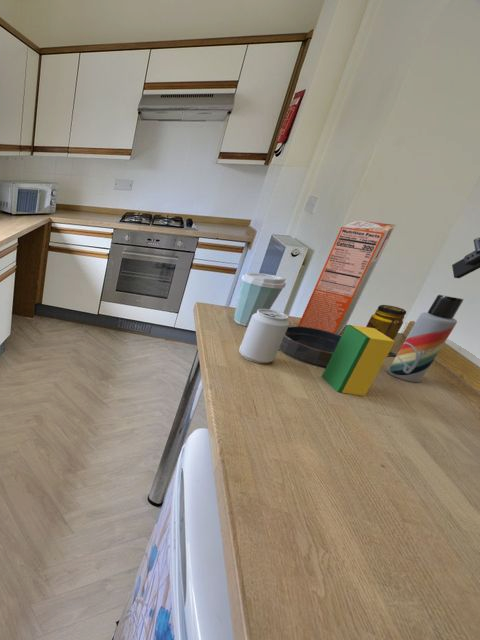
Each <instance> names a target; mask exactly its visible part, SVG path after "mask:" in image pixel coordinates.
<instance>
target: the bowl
mask: <svg viewBox="0 0 480 640" xmlns="http://www.w3.org/2000/svg"><path fill="white" fill-rule="evenodd" d="M341 336H342V334H339V335H338V334H335V333H331V332H328V331H324V330H320V329H315V328H310V327H302V326H298V325H291V326H290V325H289V326H288V329H287V331H286V333H285V336H284V338H283V340H282V343H281V345H280V347H279V350H281V351H282V352H284V353H286V354H287V355H288V356H290V357H292V358H294V359H297V360H299V361H303V362H305V363H308V364H312V365H315V366H318V367H319V366H320V367H323V368H326V367H327V365H328V363H329V361H330V359H331V357H332V355H333V353H334V351H335V349H336V347H337V345H338V343H339V340H340V338H341Z"/></svg>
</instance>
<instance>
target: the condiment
mask: <svg viewBox="0 0 480 640" xmlns="http://www.w3.org/2000/svg"><path fill="white" fill-rule="evenodd" d="M406 314H407V311H406V309H404V308H402V307H399V306H394V305H389V304H379V306H377V309H376V310H375V313H373V314H372V315H371V316H370V318H369V320H368V321H367V324H366V326H365V327H369V328H375V329H376V330H378V331H379V332H381V333H383V334H384V335H386V336H387V337H389V338H391V339H392V340H394V341H395V338H396V336H397V335H398V333H399V331H400V329H401V327H402V326H403V325H404V319H405V315H406ZM397 354H398V352H395V351H392V350H390V352H389V354H388V356H387V357H390V356H397Z"/></svg>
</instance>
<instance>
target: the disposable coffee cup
mask: <svg viewBox="0 0 480 640" xmlns="http://www.w3.org/2000/svg"><path fill="white" fill-rule="evenodd" d="M240 279H241V280H240V286H239V291H238V295H237V302H236V305H235V306H236V307H235V311H234V315H233V319H234V322H235V323H236V324H238V325H241V326H244V327H247V328H248V325H249V322H250V320H251V317H252V315H253V314H255V313H257V310H259V309H270V310H271V308H272V306H273V305H274V303H275V301H276V300H277V299H278V298H279V295H280V293H281V292H282V291H283V289H285V288H286V285H287V283H286V282H285V281H286V278H285V277H283V276H280V275H279V276H278V275H274V274H269V273H262V272H261V273H260V272H246V273H245V274H243V275H242V276H241V278H240Z"/></svg>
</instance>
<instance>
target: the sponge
mask: <svg viewBox="0 0 480 640" xmlns="http://www.w3.org/2000/svg"><path fill="white" fill-rule="evenodd" d="M342 332H343V333H342V334H341V338H340V340H339V343H338V345H337V347H336V349H335V351H334V353H333V355H332V357H331V359H330V361H329V363H328V365H327V367H325V369H324V371H323V373H322V375H321V377H322V378H323V380H324V381H326V382H327V383H328V384H329V385H330V386H331V387H332V388H333V390H335V391H336V392H337V393H343V394H347V395H348V394H349V395H355V396H360V397H365V396H366V395H367V393H368V391H369V389H370V388H371V386H372V384H373V382H374V380H375V379H376V377H377V376H378V373H379V372H380V370H381V368H382V366H383V364H384V363H385V361H386V360H387V357H389V356H388V354H389V352H390V351H392V348H393V346H395V343H396V341H395V339H394V340H392V339H391V338H389V337H387V336H386V335H384V334H383V333H381V332H379V331H378V330H376V329H375V328H369V327H366V326H361V325H353V324H347V325H346V326H345V328H344V329H343V331H342Z"/></svg>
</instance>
